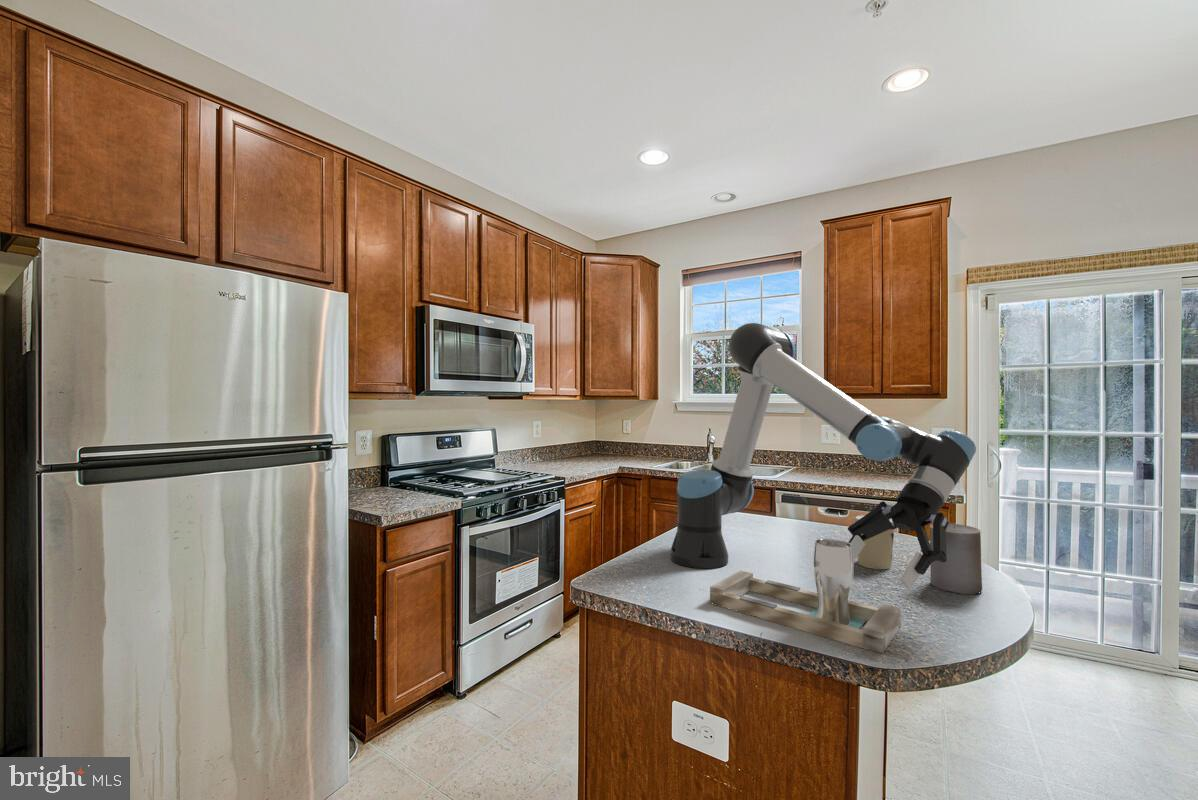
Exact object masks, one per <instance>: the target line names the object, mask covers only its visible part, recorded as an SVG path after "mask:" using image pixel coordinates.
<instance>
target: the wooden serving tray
mask: <svg viewBox="0 0 1198 800" xmlns="http://www.w3.org/2000/svg"><path fill="white" fill-rule="evenodd" d="M748 591H749V592H752V591H754V592H753V593H756V592H758V593H757V594H760V593H761V595H764V594H765V595H764V596H768V595H769V597H771V596H773V597H772V598H775V597H776V599H779V598H780V600H783V599H784V601H788V602H791V601H792V602H791V603H795V604H800V605H802V604H803V605H802V606H806V607H810V608H815V609H814V610H813V611H812V612H811V613H809V614H806V613H803V612H799V611H795V610H791V609H787V608H784V607H780V606H778V604H775V603H772V602H768V601H764V600H759V599H756V598H753V597H750V596H745V593H746V592H747V593H749V592H748ZM747 593H746V594H747ZM743 594H744V595H743ZM740 596H741V597H740ZM710 603H713V604H716V605H715V606H717V605H719V606H718V607H720V606H723V607H722V608H724V607H726V608H725V609H727V608H730V609H733V610H732V611H734V610H737V611H740V612H739V613H741V612H743V613H742V614H744V613H747V614H751V615H753V616H752V617H754V616H757V617H756V618H758V617H760V618H759V619H761V618H763V619H762V620H765V619H767V620H766V621H768V620H770V621H769V622H771V621H773V622H772V623H775V622H776V623H775V624H778V623H779V624H780V625H783V626H786V627H789V628H792V629H796V630H800V631H802V632H806V633H809V634H814V635H817V636H819V637H823V638H827V639H830V640H834V641H837V642H840V643H844V644H847V645H850V646H854V647H858V648H861V649H865V650H868V651H871V652H874V653H878V654H881V653H882V654H881V655H884V654H885V652H886V651H887V649H888V647H889V646H888V645H890V644H891V642H892V641H893V640H894V638H895V636H896V635H895V634H897V633H898V632H897V631H899V630H900V628H901V625H902V623H901V620H902V618H901V617H902V616H901V615H902V613H901V610H902V609H901V607H898V606H894V605H890V604H886V603H882V604H881V605H880V606H879V607H876V606H873V605H868V604H864V603H860V602H856V601H851V600H849V615H850V620H851V626H848V625H844V624H840V623H836V622H833V621H829V620H825V619H822V618H818V617H816V613H817V608H818V595H817V592H813V591H810V590H805V589H801V587H800V586H795V585H791V584H786V583H784V582H783V583H782V582H778V581H773V580H770V579H767V580H763V579H758V578H755V577H754V572H749V571H748V572H747V571H745V570H738V571H737V572H735V573H733V574H731V575H729V576H728V577H725V578H723V579H722V580H720V581H718V582H716V583H714V584H713V585H711V586H710V587H709V604H710ZM713 604H712V605H713ZM730 609H729V610H730ZM737 611H736V612H737ZM747 614H746V615H747ZM751 615H750V616H751ZM865 623H866V624H865ZM864 624H865V625H864ZM863 625H864V626H863ZM862 626H863V628H862ZM893 637H894V638H893ZM891 640H892V641H891ZM889 643H890V644H889ZM887 646H888V647H887ZM886 648H887V649H886ZM884 651H885V652H884Z"/></svg>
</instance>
